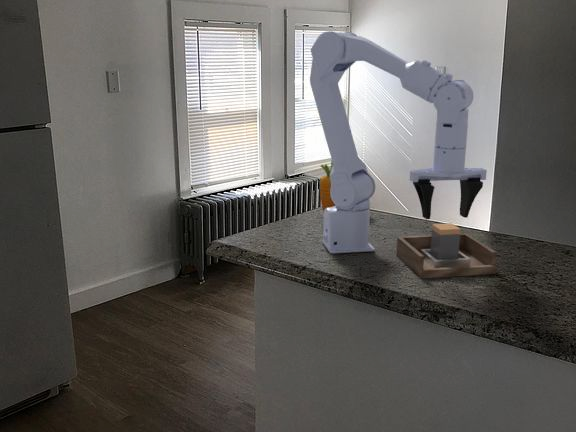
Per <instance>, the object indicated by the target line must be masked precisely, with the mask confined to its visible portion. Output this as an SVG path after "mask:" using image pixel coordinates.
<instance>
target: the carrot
mask: <svg viewBox="0 0 576 432" xmlns="http://www.w3.org/2000/svg"><path fill="white" fill-rule="evenodd" d="M320 167H321V168H322V169H323V170H324V172H325V174H326V175H323V176H322V177H320V180H319V195H320V196H319V197H320V204H321V208H322V212H323V213H324V210H325V208H329V207H334V206H335V204H334V202H333V201H332V199H331V196H330V189H331V180H330V177H329V176H330V173H331V170H332V167H333V162H332V160H331V161H330V167H329V166H328V164H327V163H325V164H321V165H320Z"/></svg>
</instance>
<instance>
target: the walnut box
mask: <svg viewBox="0 0 576 432" xmlns="http://www.w3.org/2000/svg"><path fill="white" fill-rule="evenodd" d="M431 236H432V234H429V235H428V234H427V235H411V236H410V235H409V236H408V235H407V236H397V239H396V240H397V241H396V257H397V258H398V259H399V260H400V261H402V262H403V264H404V265H405V266H407V267H408V269H409V270H411V271H412V272H413V273H414V274H415V275H416V276H417V277H418V278H419V279H429V278H430V279H431V278H432V279H433V278H434V279H435V278H449V277H450V278H451V277H463V276H464V277H465V276H467V277H468V276H479V275H493V274H495V275H497V274H498V273H497V271H498V266H497V265H496V260H497V251H496V250H494V249H492V248H491V247H489V246H487V244H484V243H483V242H481V241H480V240H479V239H477V238H475V237H474V236H472V235H471V234H469V233H466V232H465V233H460V242H459V251H460V252H462V253H463V254H464V255H466V256H467V257H469V258H470V259H471V263H470V266H464V267H448V268H433V267H432V266H431V265H429V264H428V263H427V262H426V261H425V260H424V256H423V255H422V254H421V253H420V251H421V249H431Z"/></svg>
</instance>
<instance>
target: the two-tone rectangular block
mask: <svg viewBox="0 0 576 432" xmlns="http://www.w3.org/2000/svg"><path fill="white" fill-rule="evenodd" d="M460 234H461V228H460V227H458V226H457V225H455V224H453V223H452V222H450V223H432V225H431V235H432V236H431V252H430V255H431V256H432V257H434V258H435V259H436V260H445V259H458V255H459V242H460Z"/></svg>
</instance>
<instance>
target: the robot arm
mask: <svg viewBox="0 0 576 432" xmlns="http://www.w3.org/2000/svg"><path fill="white" fill-rule="evenodd" d="M310 53H311V57H312V58H311V68H310V75H309V82H310V83H309V85H310V89H311V91H312V94H313V97H314V102H315V105H316V108H317V112H318V115H319V119H320V124H321V127H322V129H323V134H324V137H325V141H326V144H327V148H328V151H329V152H328V153H329V155H330V158H331V161H332V162H333V167H332V170H331V173H330V176H329V177H330V180H331V189H330V196H331V199H332V201H333V202H334V204H335V206H334V207H329V208H325V210H324V212H323V226H322V227H323V228H322V229H323V231H322V233H323V234H322V237H323V238H322V241H321V242H322V244H323V245H324V247H325V248H326V249H327V251H328V252H329V254H344V253H345V254H347V253H365V252H375V250H376V249H375V247H374V246H373V245H372V244H371V243H370V222H371V221H370V219H371V218H370V217H371V214H370V213H371V203H370V199H371V198H372V197H373V196H374V194H375V192H376V187H377V186H376V181H375V179H374V178H373V177H372V175H371V174H370V173H369V172H368V169H367V168H368V167H367V165H366V164H365V162H364V161H363V160H362V159H360V157H359V156H358V152H357V147H356V144H355V140H354V137H353V134H352V129H351V126H350V122H349V119H348V116H347V115H348V114H347V112H346V111H347V110H346V109H345V105H344V104H345V103H344V102H343V97H342V93H341V90H340V86H339V83H340V81H341V79H342V77H343V76H344V74H345V72H346V71H347V70H348V69H349V68H350V67H352V66H353V65H354V64H355V63H356V62H366V63H368V64H370V65H372V66H374V67H375V68H378V69H380V70H382V71H383V72H386V73H388V74H390V75H392V76H395V77H396V78H398V79H399V81H400V83H401V87H402V88H403V89H405V90H406V91H408V92H410V93H412V94H413V95H415V96H417V97H419V98H421V99H422V100H424V101H426V102H428V103H429V104H433V107H434V108H435V110H436V111H437V112H436V122H435V134H434V135H435V136H434V150H433V165H432V167H429V168H422V169H421V168H420V169H410V170H409V182H410V181H411V182H412V184H413V187H414V189H415V191H416V194H417V196H418V197H417V198H418V199H419V204H420V208H421V213H422V218H423V219H425V220H431V215H432V213H431V212H432V202H433V201H432V200H433V196H434V195H433V194H434V191H435V185H433V184H432V181H433V182H434V181H436V182H437V181H459V187H460V200H459V201H460V203H459V216H461V217H462V218H465V219H466V218H468V217H469V214H470V210H471V209H472V206H473V203H474V201H475V199H476V198H477V195H478V194H479V193H480V191H481V190H482V188H483V186H484V182H483V181H486V180H487V169H485V168H482V167H466V166H465V164H466V151H467V141H468V140H467V138H468V127H469V122H468V120H469V109H468V108H469V107H470V106H471V105H472V103H473V101H474V92H473V89H472V87H471V86H470V85H469V84H468V82H466V81H465V80H463V79H454V80H453V77H454V75H453V74H452V73H446V74H445V73H444V72H443V71H440V70H438V69H436V68H433V67H432V66H431V65H432V63H431V62H430V61H428V60H426V59H424V60H422V61H421V60H413V61H411V62H408V61H406V60H405V59H402V58H401V57H399V56H398V55H396V54H394V53H392V52H391V51H389V50H387V49H386V48H384V47H382V46H381V45H379V44H377V43H376V42H373V41H372V40H370V39H368V38H366V37H364V36H360V35H357V34H356V33H354V32H350V31H349V32H348V31H346V32H337V31H331V30H328V31H324V32H322V33H320V34H319V35H318V36H317V38H316V40H315V42H314V43H313V45H312V46H311V48H310Z"/></svg>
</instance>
